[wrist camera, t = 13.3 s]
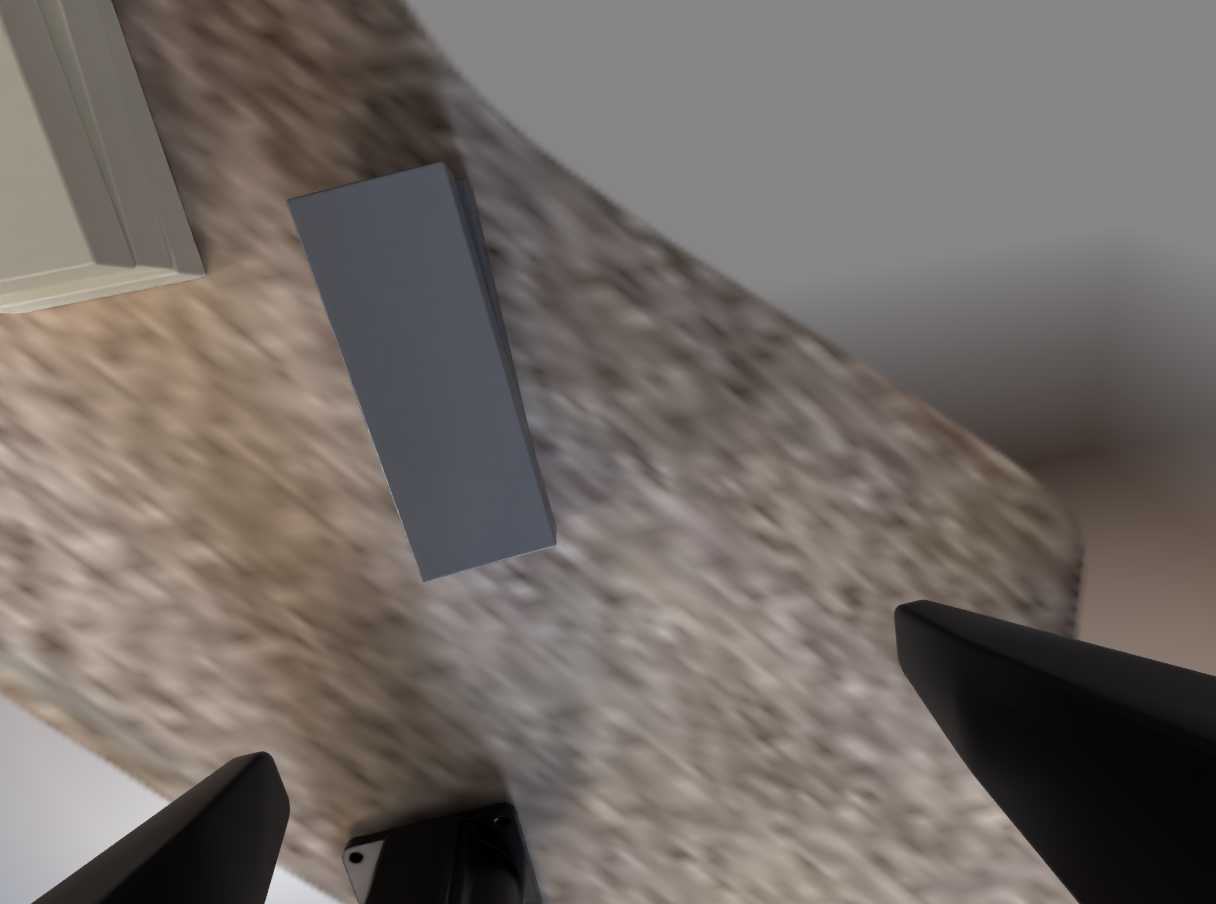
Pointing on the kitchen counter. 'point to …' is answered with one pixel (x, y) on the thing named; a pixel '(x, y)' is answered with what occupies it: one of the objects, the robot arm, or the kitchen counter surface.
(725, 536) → the kitchen counter surface
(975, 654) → the robot arm
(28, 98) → the white book
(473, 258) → the dark grey rectangular block
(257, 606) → the kitchen counter surface
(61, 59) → the cream flat block
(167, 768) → the kitchen counter surface
